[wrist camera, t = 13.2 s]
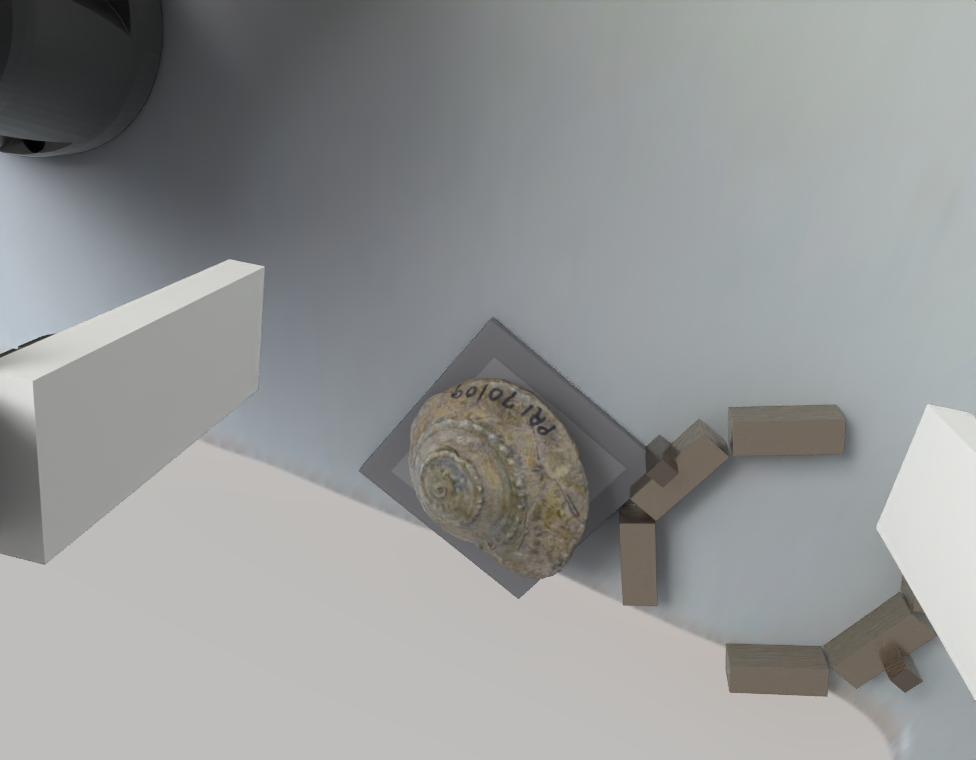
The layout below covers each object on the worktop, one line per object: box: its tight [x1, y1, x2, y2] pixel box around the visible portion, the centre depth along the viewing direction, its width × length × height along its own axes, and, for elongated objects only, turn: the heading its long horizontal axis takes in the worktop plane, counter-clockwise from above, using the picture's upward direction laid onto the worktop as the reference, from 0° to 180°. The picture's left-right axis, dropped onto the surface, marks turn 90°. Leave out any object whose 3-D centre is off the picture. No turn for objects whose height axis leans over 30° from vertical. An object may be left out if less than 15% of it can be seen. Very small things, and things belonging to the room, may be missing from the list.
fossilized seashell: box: [408, 378, 589, 580], centre depth 43 cm, size 11×11×7 cm
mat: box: [359, 317, 646, 599], centre depth 46 cm, size 13×13×1 cm
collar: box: [619, 405, 937, 696], centre depth 44 cm, size 20×17×3 cm
